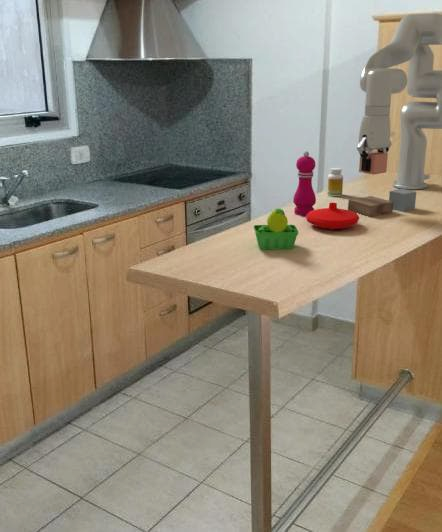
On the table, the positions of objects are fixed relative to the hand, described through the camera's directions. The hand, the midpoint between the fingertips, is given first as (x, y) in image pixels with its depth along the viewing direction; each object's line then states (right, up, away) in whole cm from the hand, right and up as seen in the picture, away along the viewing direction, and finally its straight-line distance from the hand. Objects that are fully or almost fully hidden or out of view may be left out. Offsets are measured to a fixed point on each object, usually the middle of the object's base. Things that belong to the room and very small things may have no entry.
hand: (372, 169), depth 190 cm
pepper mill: (-21, -14, +4) cm, 26 cm away
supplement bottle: (-7, -5, +28) cm, 29 cm away
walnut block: (0, -13, +5) cm, 14 cm away
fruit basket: (-34, -26, -29) cm, 51 cm away
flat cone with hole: (-15, -19, -10) cm, 26 cm away
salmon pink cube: (0, -1, 0) cm, 1 cm away
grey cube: (+12, -12, +8) cm, 18 cm away
